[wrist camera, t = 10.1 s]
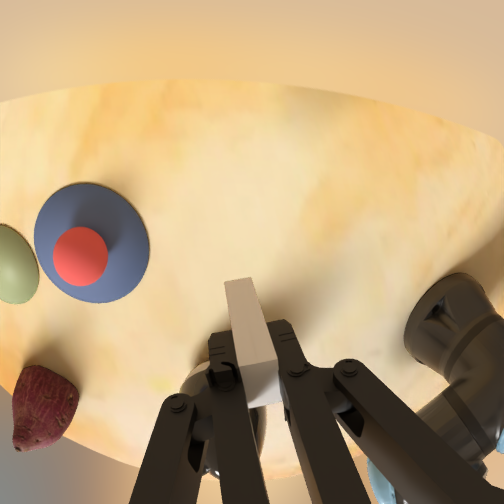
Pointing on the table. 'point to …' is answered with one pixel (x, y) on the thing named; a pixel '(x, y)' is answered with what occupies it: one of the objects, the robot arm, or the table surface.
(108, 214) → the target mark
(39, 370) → the vegetable
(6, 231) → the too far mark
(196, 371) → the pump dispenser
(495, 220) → the table surface
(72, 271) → the ball
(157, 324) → the table surface
